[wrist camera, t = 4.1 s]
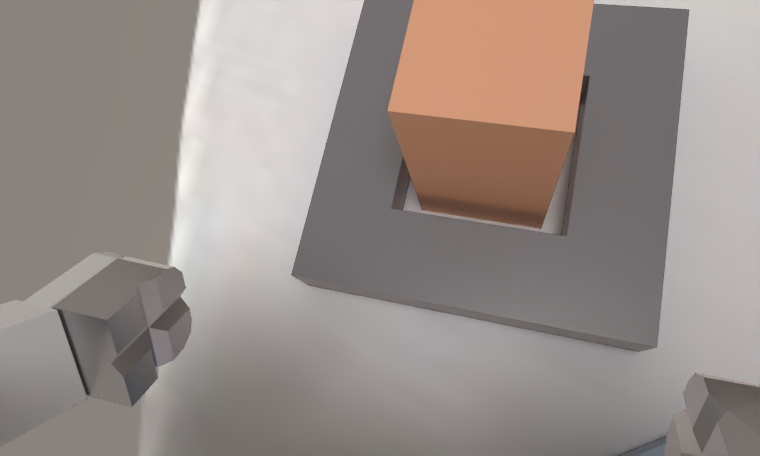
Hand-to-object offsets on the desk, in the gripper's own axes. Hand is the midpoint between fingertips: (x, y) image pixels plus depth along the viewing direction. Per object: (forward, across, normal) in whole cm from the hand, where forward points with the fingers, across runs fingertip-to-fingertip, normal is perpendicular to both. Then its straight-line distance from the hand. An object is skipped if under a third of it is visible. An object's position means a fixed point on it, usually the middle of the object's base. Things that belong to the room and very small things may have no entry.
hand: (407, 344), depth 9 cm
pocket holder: (+14, 0, +2) cm, 14 cm away
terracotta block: (+14, 0, +2) cm, 14 cm away
